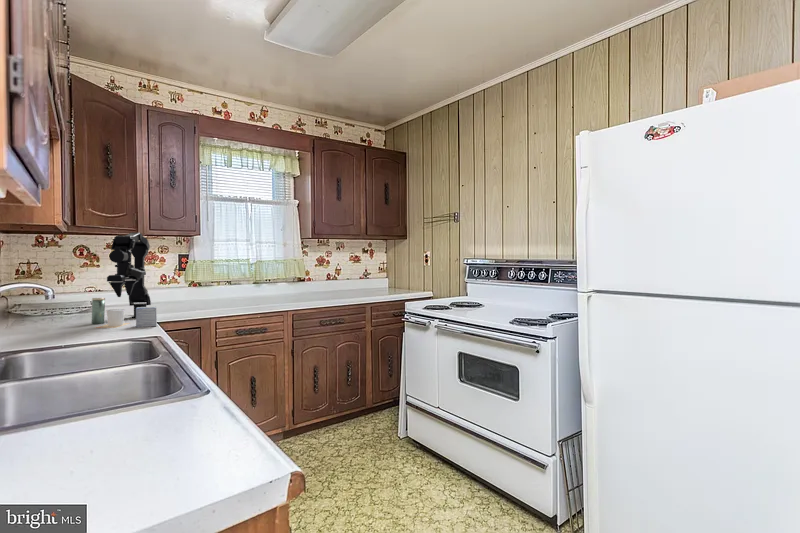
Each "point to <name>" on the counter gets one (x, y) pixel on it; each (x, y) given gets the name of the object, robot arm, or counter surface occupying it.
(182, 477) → the counter surface
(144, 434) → the counter surface
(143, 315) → the medicine box
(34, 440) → the counter surface
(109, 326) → the kraft envelope
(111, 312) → the shot glass
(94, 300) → the tea tin
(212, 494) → the counter surface
